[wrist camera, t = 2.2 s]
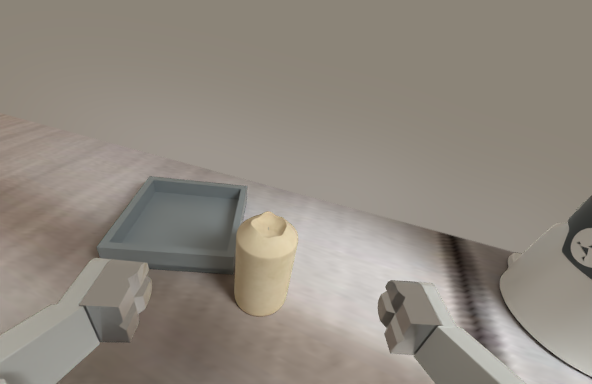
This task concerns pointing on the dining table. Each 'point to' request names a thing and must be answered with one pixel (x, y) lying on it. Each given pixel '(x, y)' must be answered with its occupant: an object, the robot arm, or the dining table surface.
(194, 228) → the serving tray
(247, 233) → the candle
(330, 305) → the dining table surface
